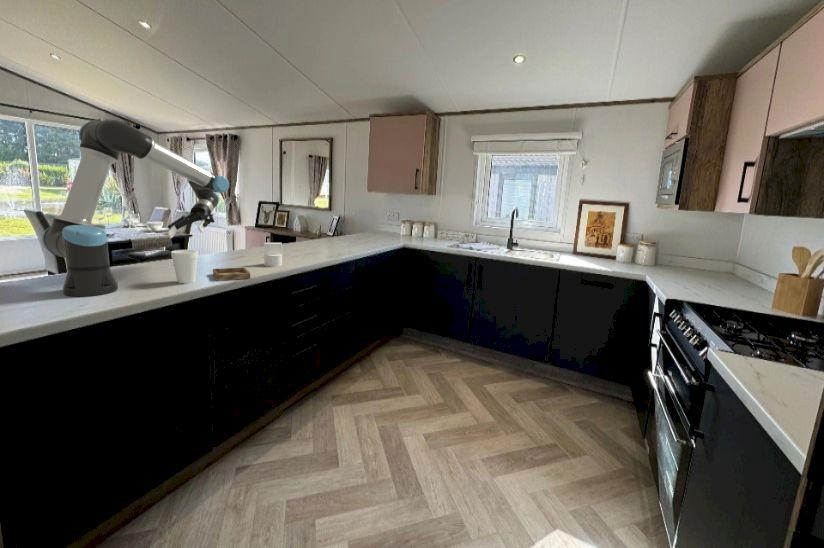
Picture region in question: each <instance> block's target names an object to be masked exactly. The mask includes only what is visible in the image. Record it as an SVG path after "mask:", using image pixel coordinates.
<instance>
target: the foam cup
mask: <svg viewBox="0 0 824 548" xmlns="http://www.w3.org/2000/svg"><path fill="white" fill-rule="evenodd" d="M170 254H171V256H170V257H171V259H172V263H173V267H174V272H175V277H176V281H177V283H178V282H179V283H178V284H180V283H189V284H191V283H190V282H194V283H195V282H196V280H197V269H198V268H197V267H198V266H197V265H198V258H199V251H198V250H195V249H177V250H176V249H175V250H172V251H171V253H170Z"/></svg>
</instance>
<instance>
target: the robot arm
mask: <svg viewBox="0 0 824 548" xmlns="http://www.w3.org/2000/svg"><path fill="white" fill-rule="evenodd" d="M78 139H79V141H80V144H79V147H78V149H79V151H80V153H81V154H82V155H81V158H80V160H79V164H78V167H77V170H76V173H75V175H74V178H73V181H72V183H71V186H70V189H69V192H68V195H67V198H66V201H65V204H64V206H63V209H62V212H61V214H60V215H56V216H55V217H54V218H53V220H52V223H51V226H49V227H47V228H46V229H45V230H44V231H43V233H42V235H41V242H42V245H43V247H44V248H45V250H47V251H48V252H49V253H51V254H52V255H54V256H56V257H58V258H65V263H66V269H67V271H66V272H67V273H66V275H65V276H66V277H65V279H64V283H63V285H62V292H63V295H65V296H69V297H90V296H91V297H92V296H99V295H106V294H110V293H114V292H116V291H118V289H119V285H118V284H119V283H118V281H117V280H116V278H115V275H114V274H113V272H112V270H111V265H110V255H109V246H108V245H109V243H108V237H107V232H106V230H105V229H104V228H102V227H100V226H96V225H94V224H93V222H92V221H93V219H94V218H93V217H94V215H95V213H96V210H97V207H98V203H99V201H100V197H101V195H102V192H103V188H104V186H105V183H106V180H107V177H108V175H109V172H110V168H111V166H112V165H113V164H116V163H118V161H119V157H120V155H121V154H125V155H130V156H131V157H132V156H133V157H135V158H138V159H139V160H144V159H145V160H148V161H149V162H152V163H154V164H156V165H158V166H160V167H162V168H164V169H166V170H168V171H170V172H173V173H174V174H176V175H178V176H180V177H182V178H184V179H186V180H187V183H188V184H189V186H190V188H191V189H192V191H193V193H194V195H195V196H196V197H197V201H196V203H194V204H193V206H192V207H191V209H190V213H189V214H188V215H182V216H181V217H180V218H178V219H176V220H175V221H173V222H172V223H170V224H168V225H167V228H168V231H167V232H166V235H167V236H168V238H169V239H172V238H173V237H174V236H175V235H176V233H177V232H178V231H179V230H180V229H181V228H183V227H186V226H187V225H191V224H193V223H197V222H199V221H200V223H199V224H198V225H197V229H198V231H199V232H200V233H203V231H204V230H205V229H206V228H207V227H208V226H209V225H211V223H212V224H214V223H216V222H215V218H214V213H213V211H214V209H215V208H216V207H217V206H218V205H219V202H220V198H221V197H220V195H219V194H218V193H225V192H227V191H228V190H229V187H230V182H229V180H228V178H227V177H225V176H223V175H217V174H215V173H213V172H211V171H209V170H207V169H205V168H204V167H202V166H200V165H199V164H196V163H194V162H192V161H191V160H189V159H187V158H186V157H183V156H182V155H179V154H178V153H176V152H174V151H172V150H171V149H169V148H167V147H165V146H163V145H161V144H159V143H157V142H156V141H154V139H153V137H152V136H150V135H148V134H146V133H145V132H143V131H141V130H139V129H138V128H136V127H134V126H132V125H130V124H128V123H125V122H123V121H120V120H116V119H107V120H105V119H103V120H101V119H100V120H99V119H97V120H96V119H95V120H91V121H88V122H86V123H84V124H82V126H81V127H80V129H79V130H78Z"/></svg>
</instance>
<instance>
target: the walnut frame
mask: <svg viewBox="0 0 824 548" xmlns="http://www.w3.org/2000/svg"><path fill="white" fill-rule="evenodd" d="M212 275H213V277H214V278H216V279H215V280H216V282H219V280H224V281H236V280H235V279H240V280H250V279H251V273H250V271H248V269H247V268H246V267H243V266H242V267H225V268H212Z"/></svg>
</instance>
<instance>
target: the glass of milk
mask: <svg viewBox="0 0 824 548" xmlns="http://www.w3.org/2000/svg"><path fill="white" fill-rule="evenodd" d="M263 246H264V247H263V248H264V251H263V252H264V253H263V254H264V259H263V261H264V267H269V266H270V267H274V266H277V267H281V265H282V266H283V243H282V242H263ZM274 268H275V267H274Z"/></svg>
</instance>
